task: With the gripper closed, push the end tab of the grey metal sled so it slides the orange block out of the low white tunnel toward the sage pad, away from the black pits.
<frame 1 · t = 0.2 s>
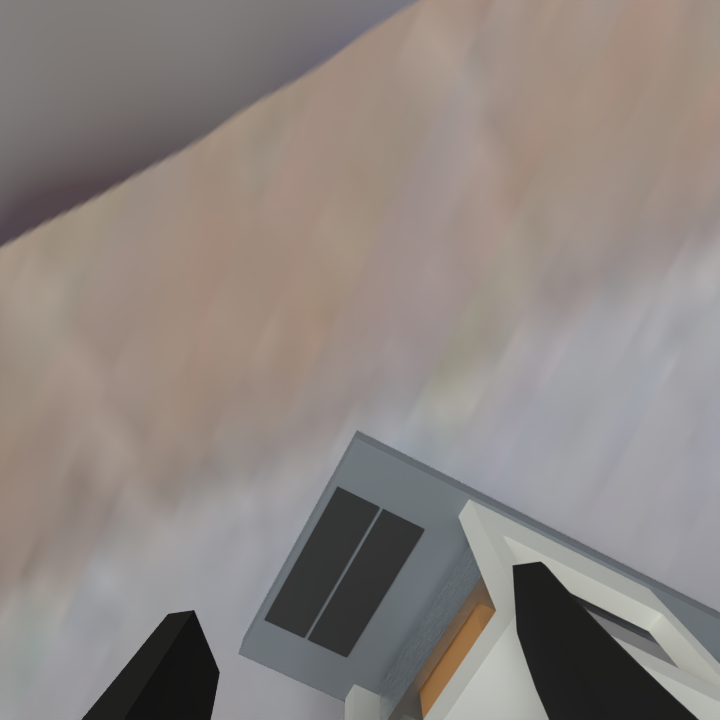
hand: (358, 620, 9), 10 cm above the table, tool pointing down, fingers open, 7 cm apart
block: (499, 667, 19), point 2 cm above the table, touching sled
track base: (615, 690, 22), on the table
tunnel: (486, 628, 21), resting on track base
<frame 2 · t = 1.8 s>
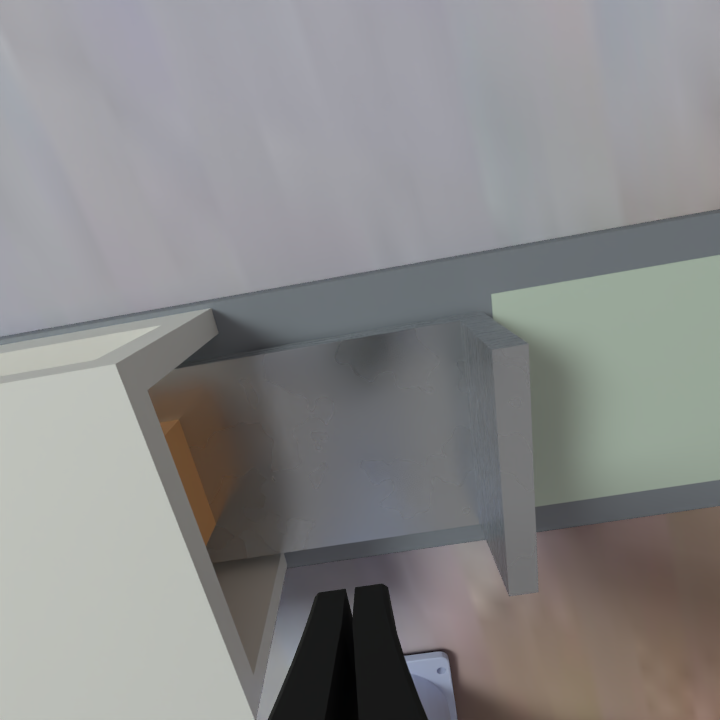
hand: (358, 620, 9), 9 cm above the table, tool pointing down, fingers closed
block: (127, 485, 16), point 2 cm above the table, touching sled
track base: (324, 429, 18), on the table
sled: (250, 485, 15), point 4 cm above the table, slide at 0.0 cm, touching block
tunnel: (152, 456, 18), resting on track base
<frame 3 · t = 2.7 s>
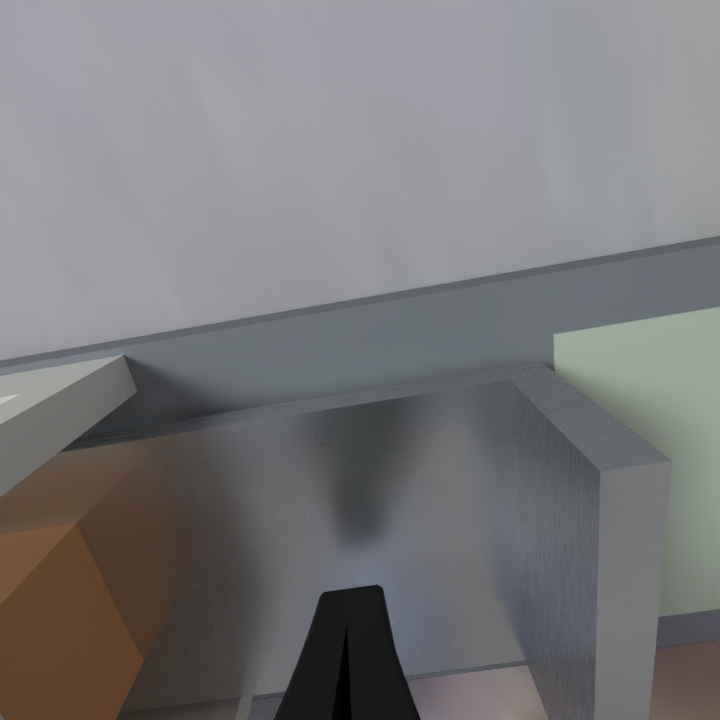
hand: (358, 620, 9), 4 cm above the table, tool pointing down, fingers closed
block: (7, 612, 11), point 2 cm above the table, touching sled
track base: (302, 516, 13), on the table
sled: (180, 633, 10), point 3 cm above the table, slide at 0.0 cm, touching block
tunnel: (62, 552, 13), resting on track base
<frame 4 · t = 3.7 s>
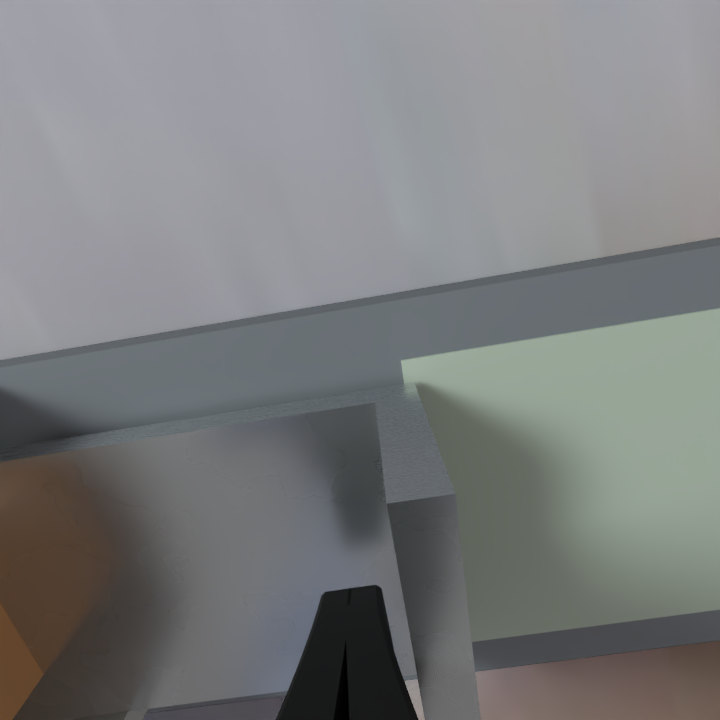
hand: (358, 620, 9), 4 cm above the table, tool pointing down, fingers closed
track base: (187, 533, 13), on the table
sled: (57, 649, 10), point 4 cm above the table, slide at 0.7 cm, touching block, gripper
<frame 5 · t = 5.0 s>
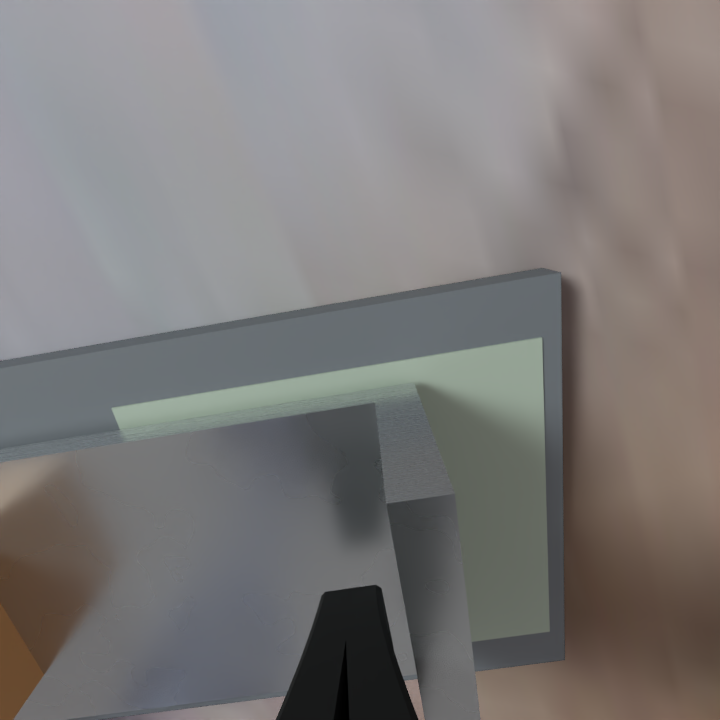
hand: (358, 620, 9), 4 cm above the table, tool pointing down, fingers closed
sled: (58, 649, 10), point 4 cm above the table, slide at 8.2 cm, touching block, gripper
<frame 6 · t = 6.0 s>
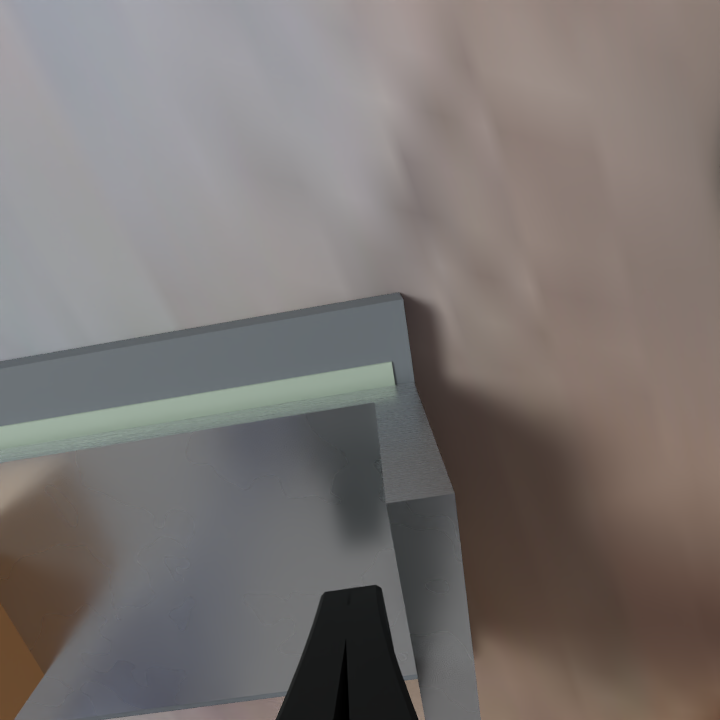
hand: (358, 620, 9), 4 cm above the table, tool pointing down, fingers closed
sled: (58, 650, 10), point 4 cm above the table, slide at 12.0 cm, touching block, gripper
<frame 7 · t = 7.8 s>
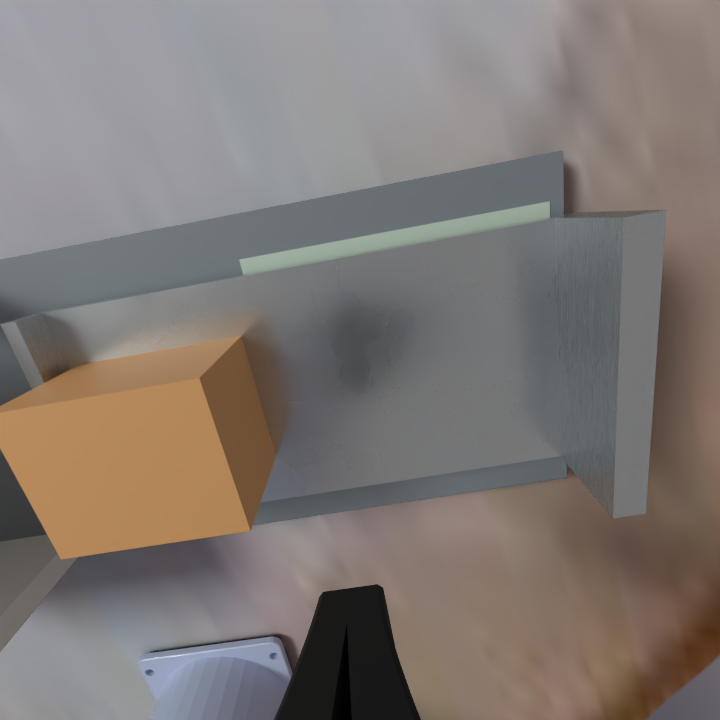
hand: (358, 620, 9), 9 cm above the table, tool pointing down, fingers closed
block: (182, 412, 15), point 2 cm above the table, touching sled
track base: (109, 405, 17), on the table
sled: (322, 404, 14), point 4 cm above the table, slide at 12.2 cm, touching block
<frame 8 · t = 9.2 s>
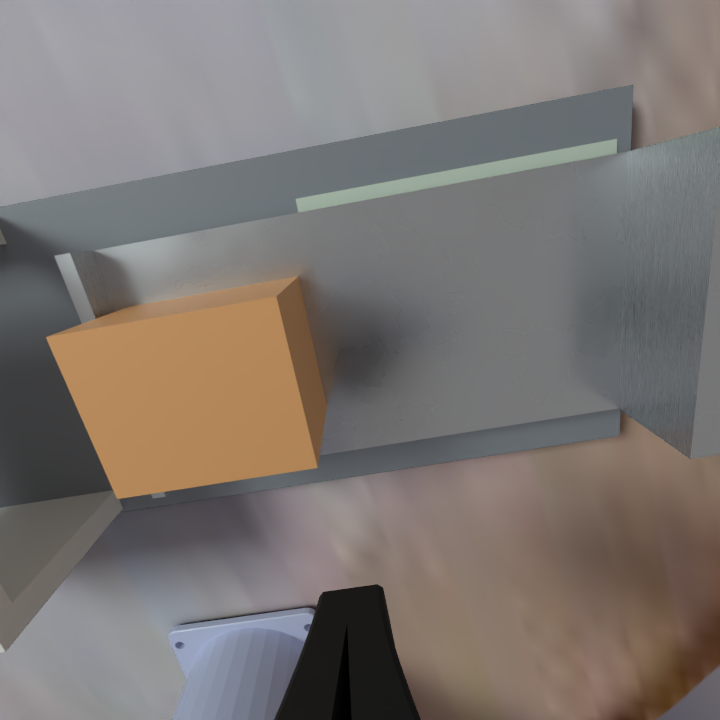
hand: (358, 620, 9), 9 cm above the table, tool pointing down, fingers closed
block: (232, 359, 15), point 2 cm above the table, touching sled
track base: (150, 359, 17), on the table
sled: (384, 344, 13), point 4 cm above the table, slide at 12.2 cm, touching block
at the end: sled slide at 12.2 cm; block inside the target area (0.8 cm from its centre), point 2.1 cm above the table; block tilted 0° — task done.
